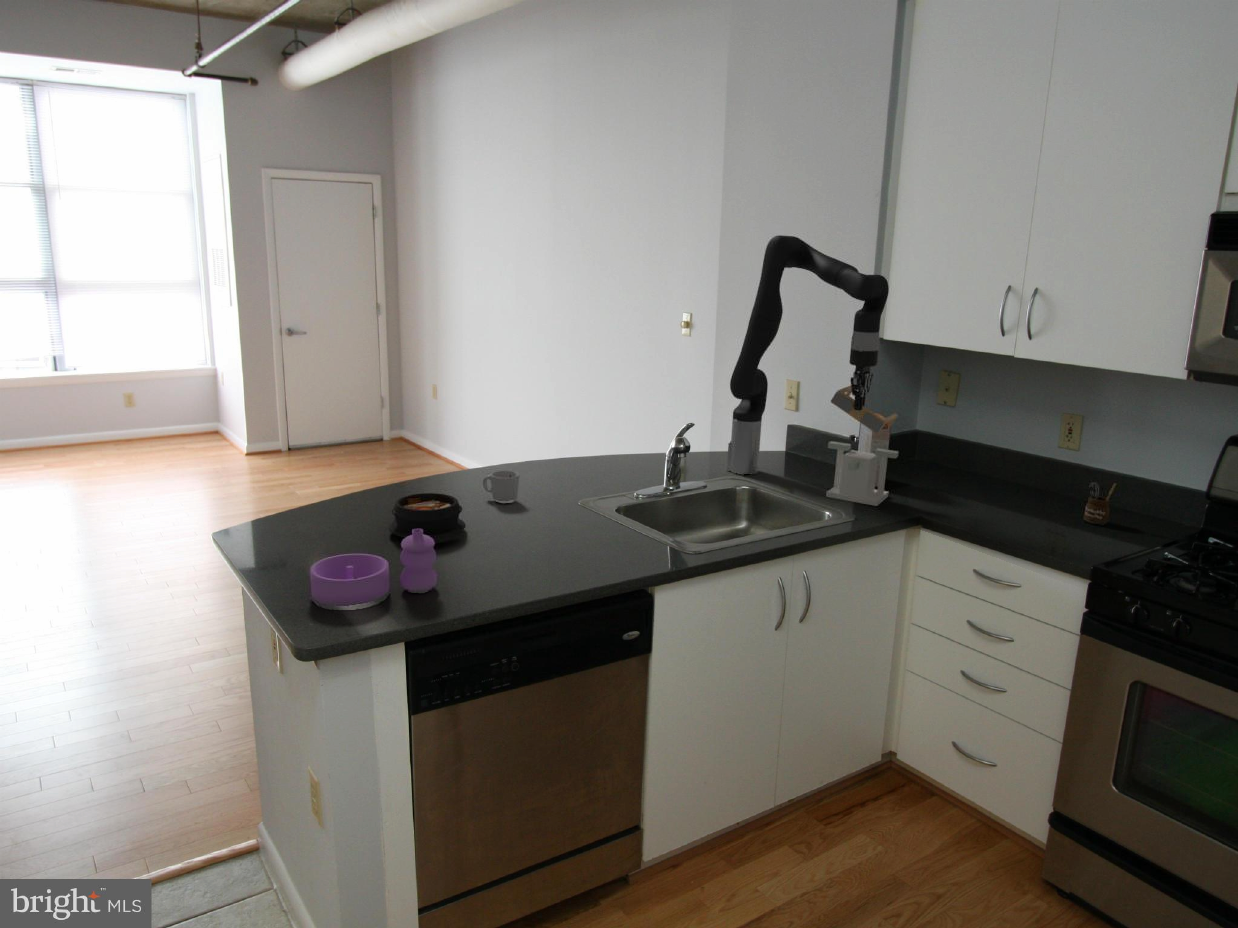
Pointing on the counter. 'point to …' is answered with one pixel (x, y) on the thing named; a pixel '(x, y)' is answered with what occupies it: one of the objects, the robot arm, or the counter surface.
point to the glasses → (860, 411)
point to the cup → (503, 485)
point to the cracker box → (874, 442)
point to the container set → (372, 573)
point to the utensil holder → (1097, 508)
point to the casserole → (428, 516)
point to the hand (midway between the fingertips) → (859, 409)
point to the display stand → (859, 474)
